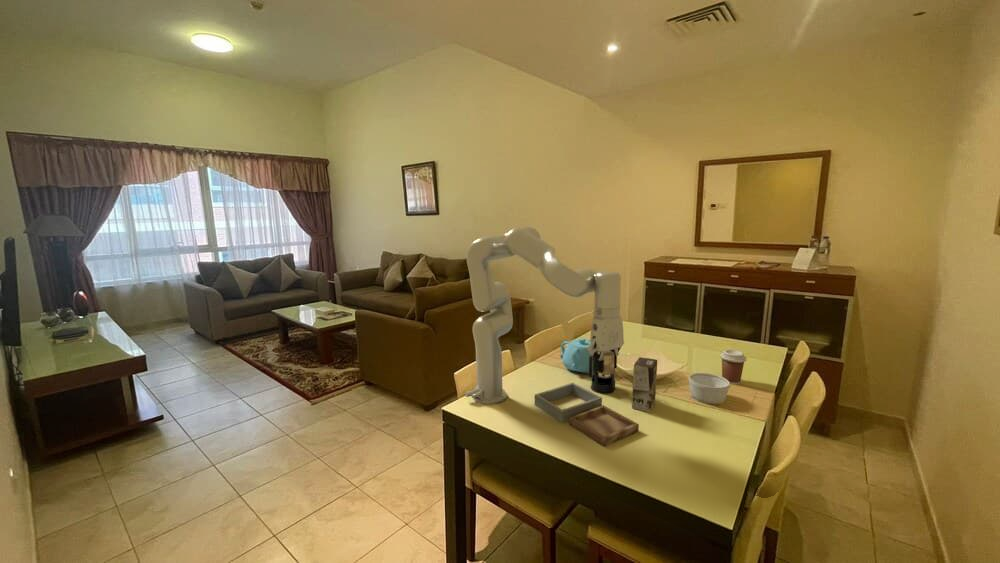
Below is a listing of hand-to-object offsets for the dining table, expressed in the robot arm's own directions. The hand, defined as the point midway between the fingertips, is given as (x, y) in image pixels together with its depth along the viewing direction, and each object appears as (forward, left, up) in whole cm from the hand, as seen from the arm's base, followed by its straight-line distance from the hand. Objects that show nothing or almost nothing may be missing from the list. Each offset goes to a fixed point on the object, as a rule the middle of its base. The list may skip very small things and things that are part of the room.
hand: (605, 368), depth 125 cm
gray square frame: (0, +17, -20) cm, 26 cm away
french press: (+21, +21, -20) cm, 36 cm away
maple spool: (0, 0, -1) cm, 1 cm away
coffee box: (+23, +3, -20) cm, 31 cm away
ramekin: (+47, -6, -20) cm, 52 cm away
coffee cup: (+68, -3, -20) cm, 71 cm away
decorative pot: (+28, +40, -20) cm, 53 cm away
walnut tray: (0, 0, -20) cm, 20 cm away
